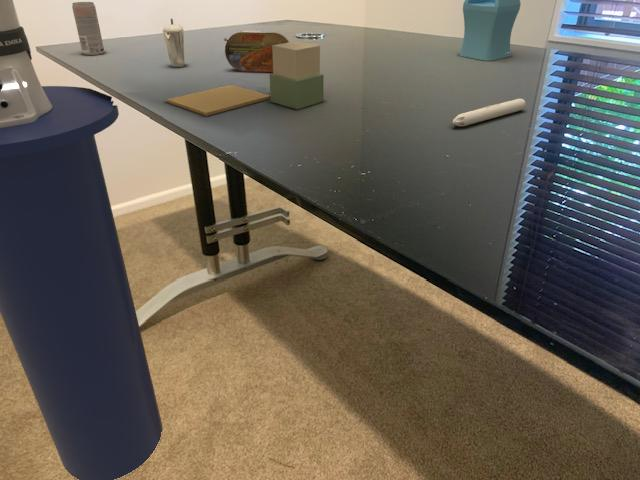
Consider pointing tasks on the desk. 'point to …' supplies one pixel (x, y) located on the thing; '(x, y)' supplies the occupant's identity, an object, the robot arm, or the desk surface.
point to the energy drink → (88, 28)
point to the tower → (296, 75)
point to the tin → (252, 50)
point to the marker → (489, 112)
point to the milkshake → (175, 44)
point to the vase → (488, 28)
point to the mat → (218, 99)
